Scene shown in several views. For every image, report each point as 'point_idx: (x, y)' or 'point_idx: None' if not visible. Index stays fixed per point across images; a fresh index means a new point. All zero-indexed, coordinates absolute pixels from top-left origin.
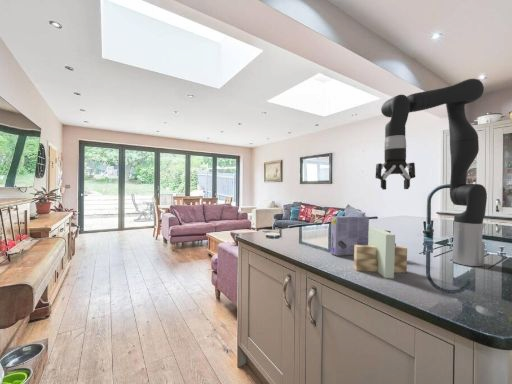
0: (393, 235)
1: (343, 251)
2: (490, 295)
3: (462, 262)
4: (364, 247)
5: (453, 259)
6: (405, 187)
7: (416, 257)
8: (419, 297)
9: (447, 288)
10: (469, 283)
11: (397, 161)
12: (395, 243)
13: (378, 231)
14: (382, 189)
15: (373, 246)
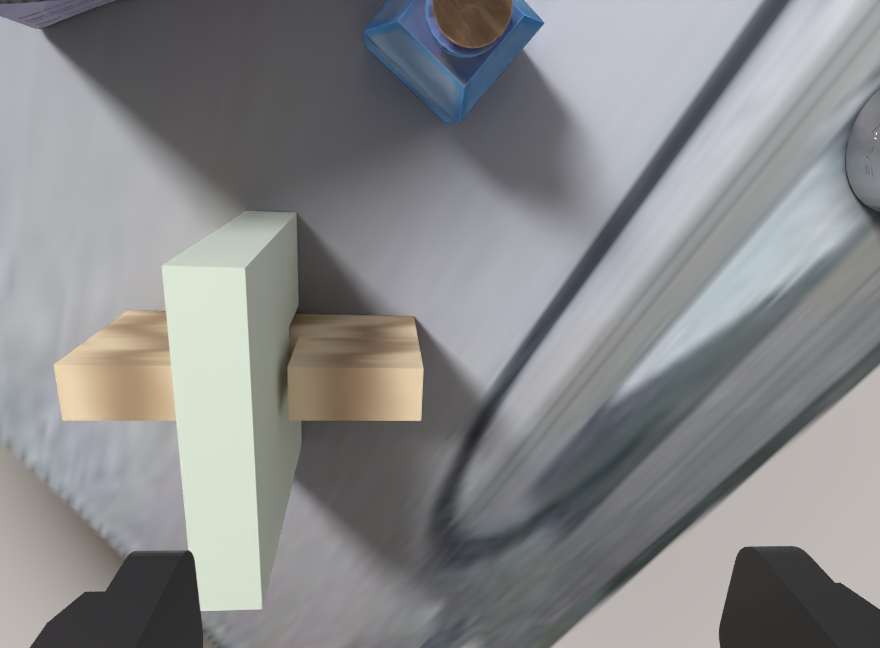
0: (250, 605)
1: (87, 2)
2: (590, 566)
3: (860, 186)
4: (121, 419)
5: (865, 121)
6: (747, 635)
7: (687, 12)
8: (308, 614)
9: (477, 526)
10: (618, 464)
11: None
12: (540, 24)
13: (183, 489)
14: (143, 559)
15: None
